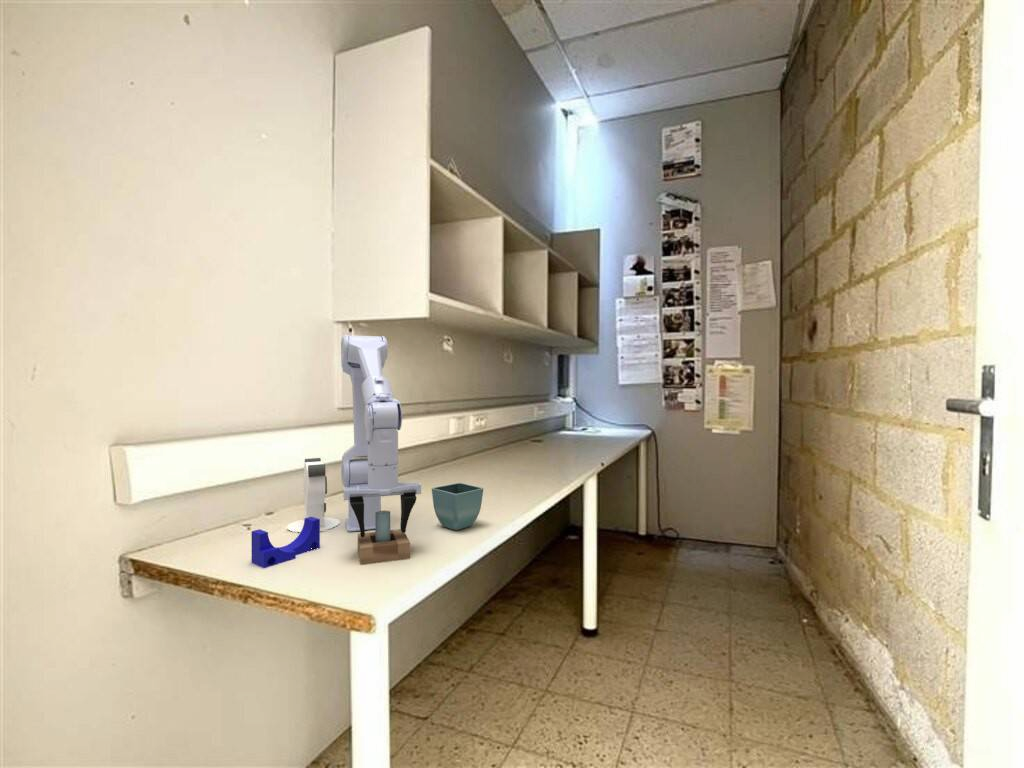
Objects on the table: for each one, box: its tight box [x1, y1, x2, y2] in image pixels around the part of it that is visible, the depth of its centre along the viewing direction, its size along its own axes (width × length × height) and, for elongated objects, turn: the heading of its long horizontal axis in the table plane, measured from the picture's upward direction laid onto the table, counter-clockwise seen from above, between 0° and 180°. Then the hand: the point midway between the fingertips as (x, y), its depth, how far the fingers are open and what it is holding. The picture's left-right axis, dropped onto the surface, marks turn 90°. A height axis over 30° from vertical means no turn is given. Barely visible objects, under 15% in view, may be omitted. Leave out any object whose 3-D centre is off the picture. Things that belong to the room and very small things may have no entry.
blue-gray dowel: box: [374, 510, 391, 543], centre depth 95 cm, size 3×3×8 cm
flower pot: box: [431, 482, 485, 531], centre depth 113 cm, size 9×9×9 cm
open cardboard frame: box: [357, 528, 411, 565], centre depth 95 cm, size 9×9×3 cm
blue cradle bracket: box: [251, 517, 321, 569], centre depth 94 cm, size 12×4×6 cm, turn 144°
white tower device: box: [286, 457, 341, 533], centre depth 113 cm, size 12×11×15 cm
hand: (383, 533), depth 95 cm, fingers open, 7 cm apart
